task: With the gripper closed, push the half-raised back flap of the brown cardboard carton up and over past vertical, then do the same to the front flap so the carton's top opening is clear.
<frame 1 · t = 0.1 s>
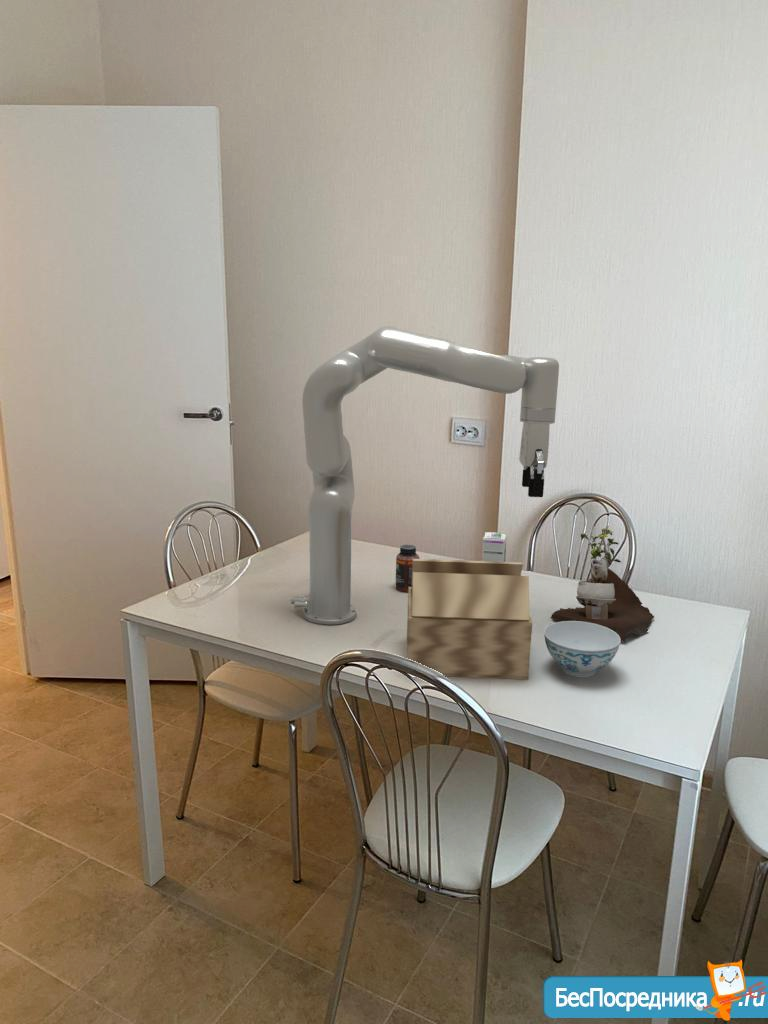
hand: (532, 491, 184), 31 cm above the table, tool pointing down, fingers open, 9 cm apart
syrup box: (491, 589, 214), on the table
potted plant: (605, 621, 195), on the table
back flap: (466, 574, 175), point 16 cm above the table, hinge at 55.0°
chinaware: (578, 671, 168), on the table
front flap: (470, 596, 162), point 16 cm above the table, hinge at 55.0°
supplement bottle: (406, 589, 212), on the table
carton: (464, 657, 172), on the table
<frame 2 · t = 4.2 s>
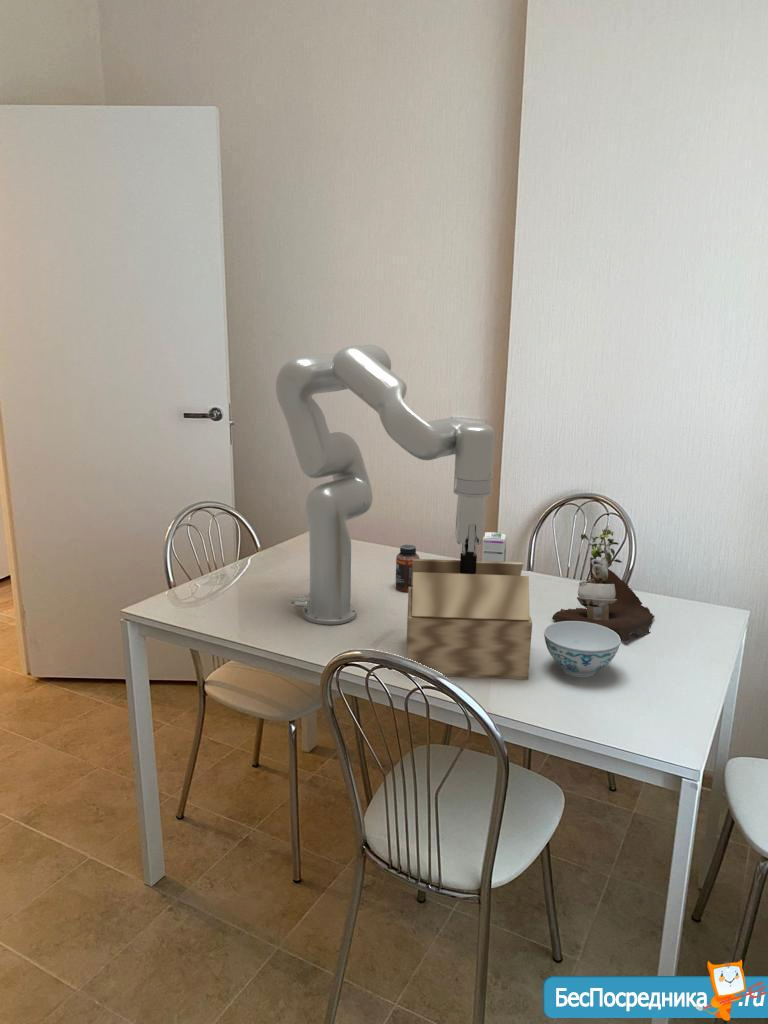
hand: (467, 572, 170), 18 cm above the table, tool pointing down, fingers closed
back flap: (466, 574, 175), point 16 cm above the table, hinge at 55.0°, touching gripper
everything else where it was.
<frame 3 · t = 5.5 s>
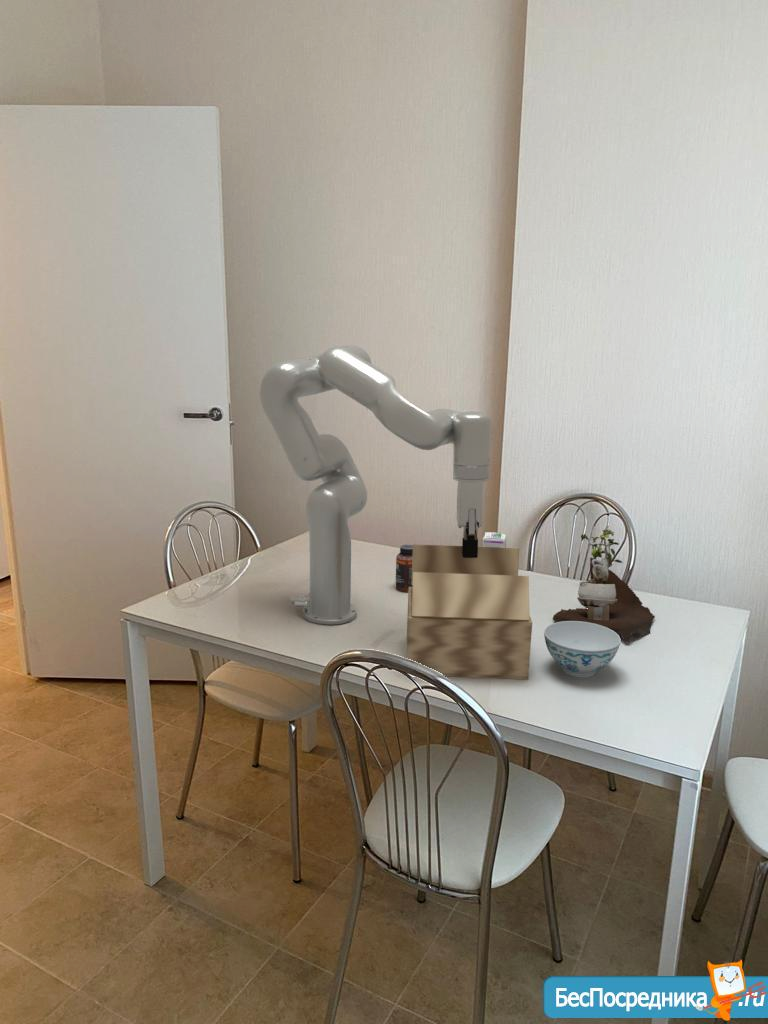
hand: (469, 556, 176), 19 cm above the table, tool pointing down, fingers closed
back flap: (465, 566, 178), point 17 cm above the table, hinge at 98.6°, touching gripper
everything else where it was.
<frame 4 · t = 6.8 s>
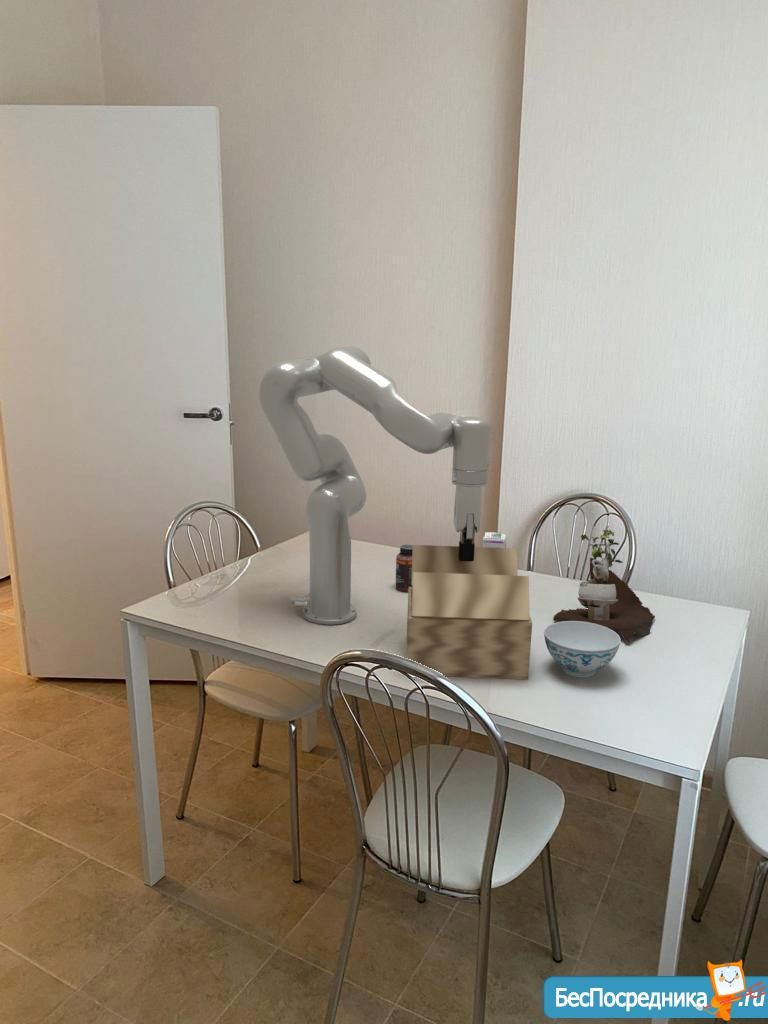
hand: (466, 559, 177), 18 cm above the table, tool pointing down, fingers closed
back flap: (464, 566, 179), point 16 cm above the table, hinge at 116.5°
everything else where it was.
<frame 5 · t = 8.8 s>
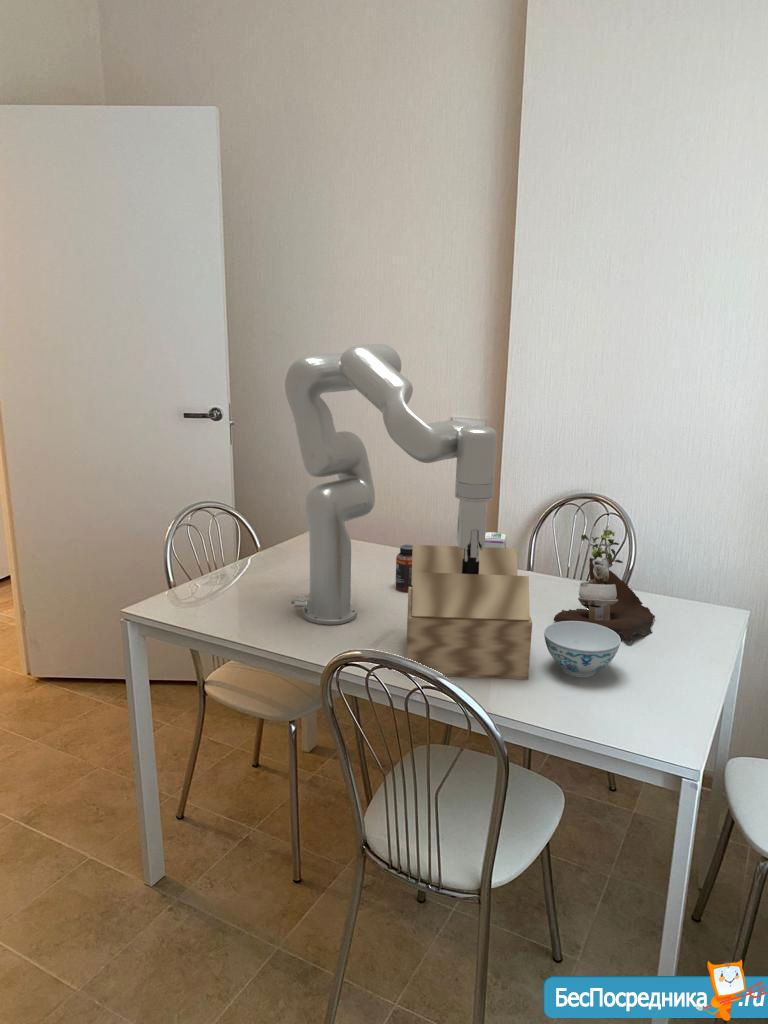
hand: (469, 578, 166), 18 cm above the table, tool pointing down, fingers closed
front flap: (470, 596, 162), point 16 cm above the table, hinge at 55.0°, touching gripper
everything else where it was.
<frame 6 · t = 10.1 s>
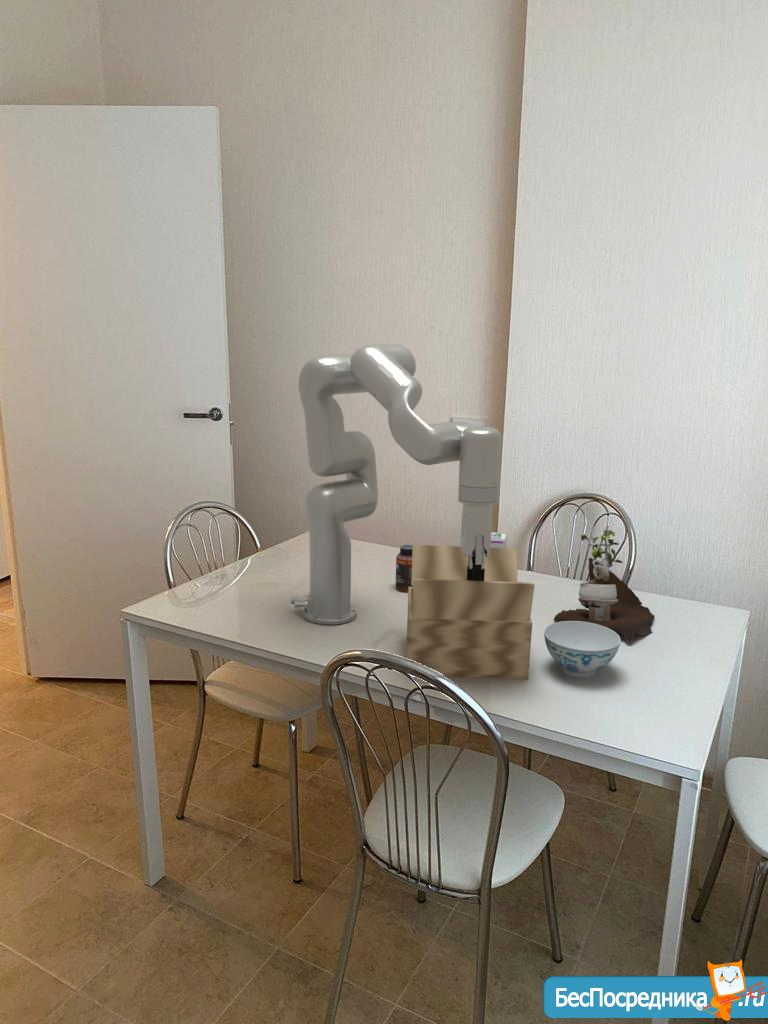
hand: (475, 587, 158), 19 cm above the table, tool pointing down, fingers closed
front flap: (472, 600, 158), point 17 cm above the table, hinge at 104.5°, touching gripper
everything else where it was.
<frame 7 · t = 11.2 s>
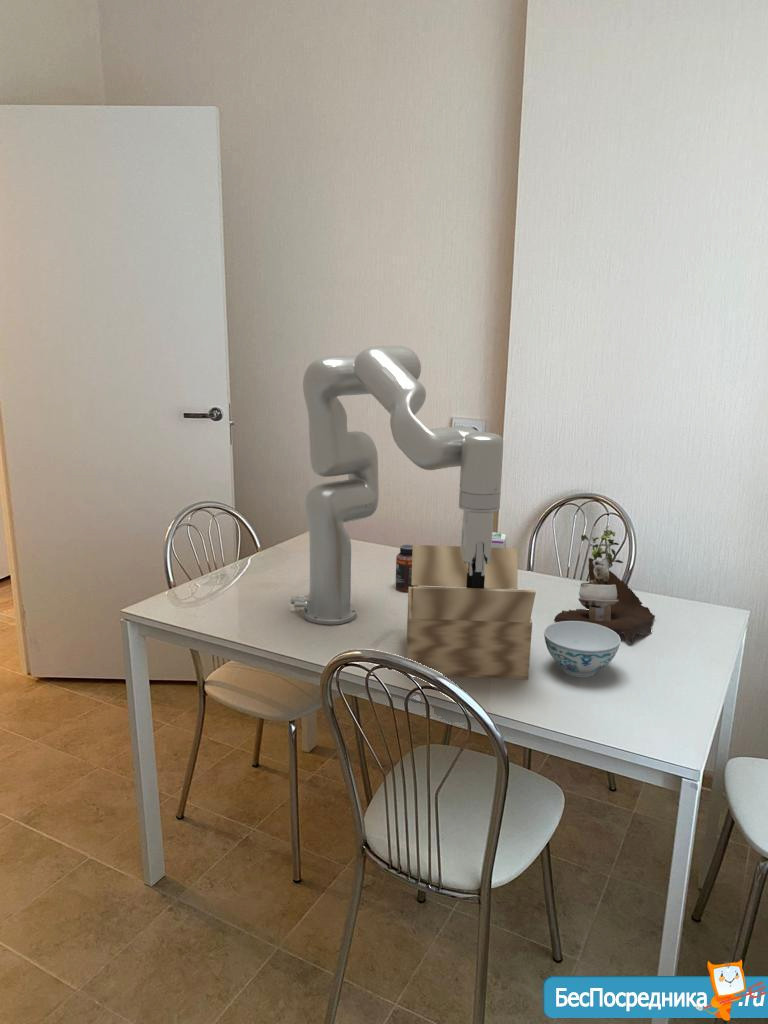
hand: (474, 594, 157), 18 cm above the table, tool pointing down, fingers closed
front flap: (472, 604, 157), point 16 cm above the table, hinge at 118.4°, touching gripper
everything else where it was.
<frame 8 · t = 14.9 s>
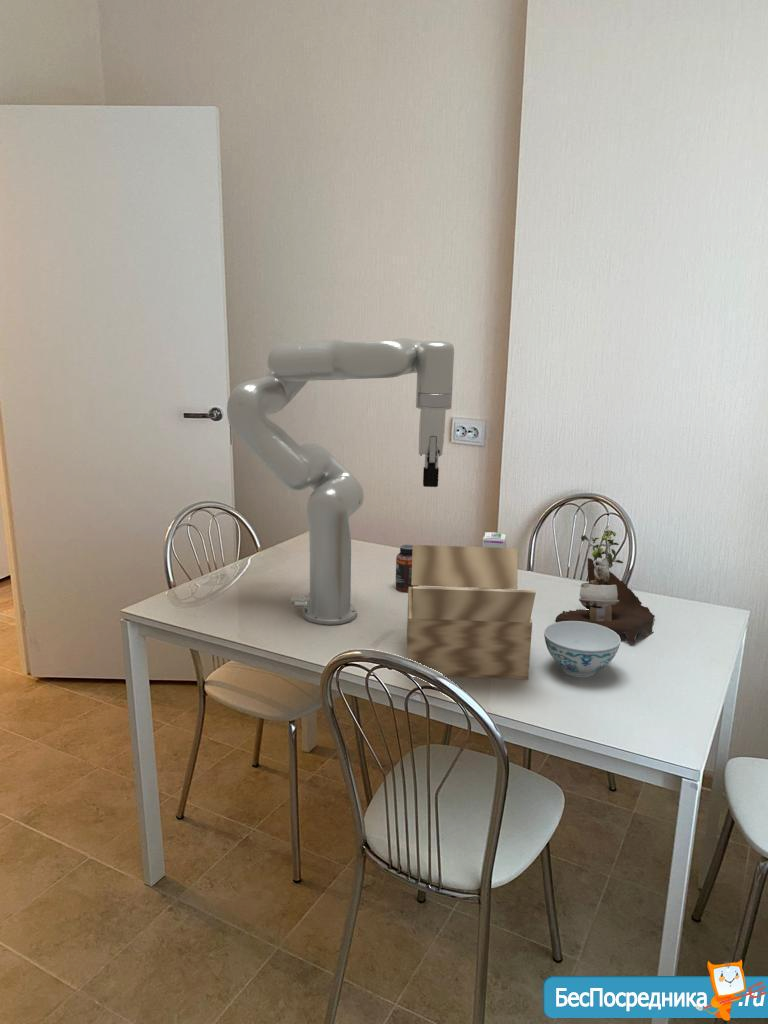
hand: (430, 485, 179), 33 cm above the table, tool pointing down, fingers closed
front flap: (472, 604, 157), point 16 cm above the table, hinge at 118.7°
at the end: back flap at +117° (first picture: +55°); front flap at +119° (first picture: +55°) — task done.
